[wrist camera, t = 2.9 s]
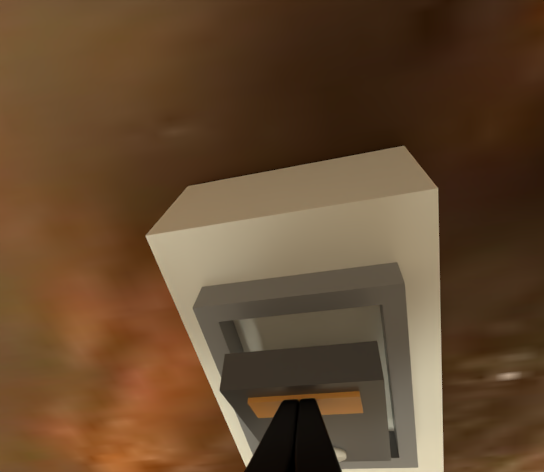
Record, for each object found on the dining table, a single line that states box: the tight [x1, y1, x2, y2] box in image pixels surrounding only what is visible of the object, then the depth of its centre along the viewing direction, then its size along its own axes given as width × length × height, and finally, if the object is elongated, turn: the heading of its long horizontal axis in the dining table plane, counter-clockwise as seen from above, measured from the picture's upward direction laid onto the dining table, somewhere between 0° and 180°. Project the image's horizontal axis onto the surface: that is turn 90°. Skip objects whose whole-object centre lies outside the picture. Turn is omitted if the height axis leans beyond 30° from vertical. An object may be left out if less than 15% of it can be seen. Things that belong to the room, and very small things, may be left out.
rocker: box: [219, 341, 391, 462], centre depth 11 cm, size 6×4×1 cm, turn 13°
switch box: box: [146, 146, 444, 472], centre depth 16 cm, size 24×8×5 cm, turn 13°
